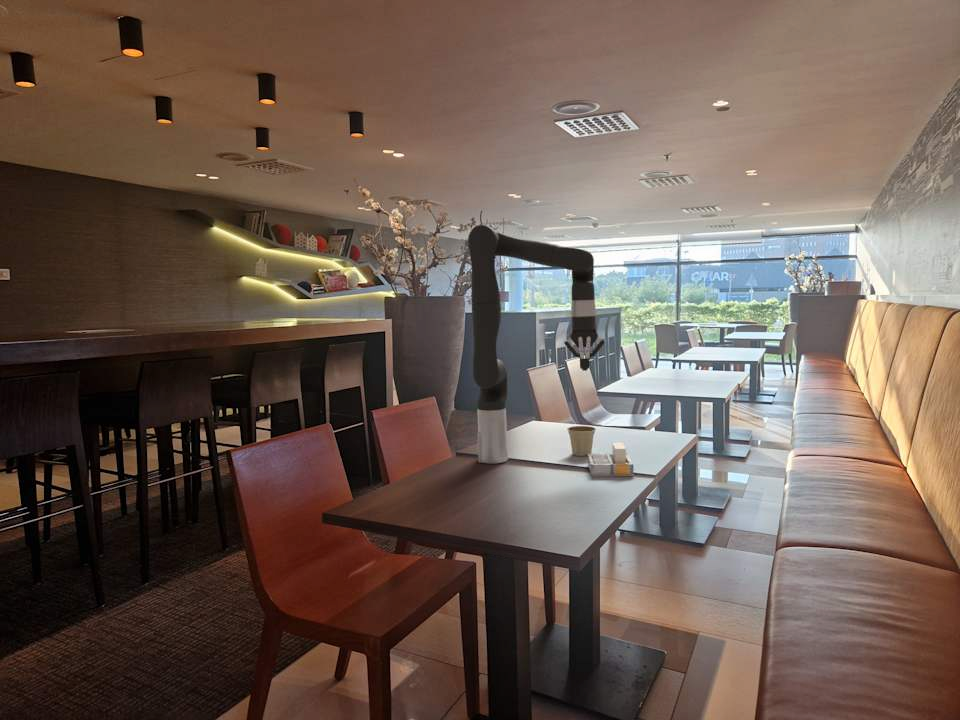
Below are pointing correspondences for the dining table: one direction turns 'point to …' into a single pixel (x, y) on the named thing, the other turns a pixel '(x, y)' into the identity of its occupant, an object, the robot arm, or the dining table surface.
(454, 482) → the dining table surface
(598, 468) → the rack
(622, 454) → the panel
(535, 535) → the dining table surface
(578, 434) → the flower pot
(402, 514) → the dining table surface
